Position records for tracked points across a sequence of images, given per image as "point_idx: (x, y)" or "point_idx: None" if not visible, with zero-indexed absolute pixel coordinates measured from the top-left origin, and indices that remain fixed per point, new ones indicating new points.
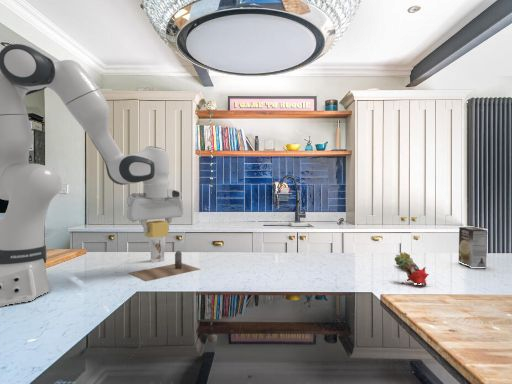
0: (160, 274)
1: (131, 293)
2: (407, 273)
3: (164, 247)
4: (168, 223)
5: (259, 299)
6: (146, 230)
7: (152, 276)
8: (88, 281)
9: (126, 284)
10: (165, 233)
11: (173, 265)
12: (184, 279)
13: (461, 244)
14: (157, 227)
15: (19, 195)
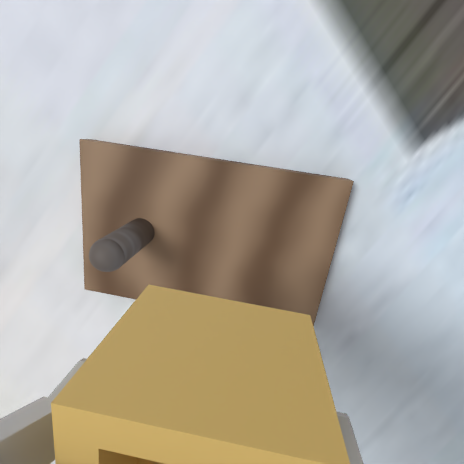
0: (247, 215)
1: (447, 142)
2: None
3: None
4: (33, 423)
5: None
6: (347, 431)
7: (287, 218)
8: (417, 381)
9: (373, 254)
10: (168, 305)
11: (129, 280)
12: (193, 123)
13: None
14: (258, 381)
15: None
